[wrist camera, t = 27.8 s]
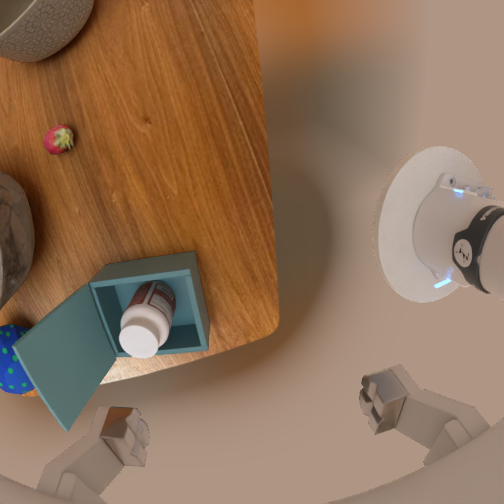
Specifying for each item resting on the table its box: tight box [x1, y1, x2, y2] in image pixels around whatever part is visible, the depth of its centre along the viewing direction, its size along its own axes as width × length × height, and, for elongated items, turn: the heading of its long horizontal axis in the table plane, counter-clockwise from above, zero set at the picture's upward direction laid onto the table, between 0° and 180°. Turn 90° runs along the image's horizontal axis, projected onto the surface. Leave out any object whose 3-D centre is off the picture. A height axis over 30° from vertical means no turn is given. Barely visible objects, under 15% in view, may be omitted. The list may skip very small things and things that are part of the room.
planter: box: [0, 0, 94, 62], centre depth 18 cm, size 17×17×15 cm
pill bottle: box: [119, 281, 176, 359], centre depth 35 cm, size 6×6×11 cm
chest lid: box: [12, 284, 116, 431], centre depth 27 cm, size 14×12×1 cm
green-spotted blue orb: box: [0, 324, 35, 394], centre depth 36 cm, size 14×14×15 cm
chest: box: [88, 251, 210, 357], centre depth 37 cm, size 14×12×7 cm
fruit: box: [44, 124, 74, 155], centre depth 30 cm, size 4×6×5 cm
